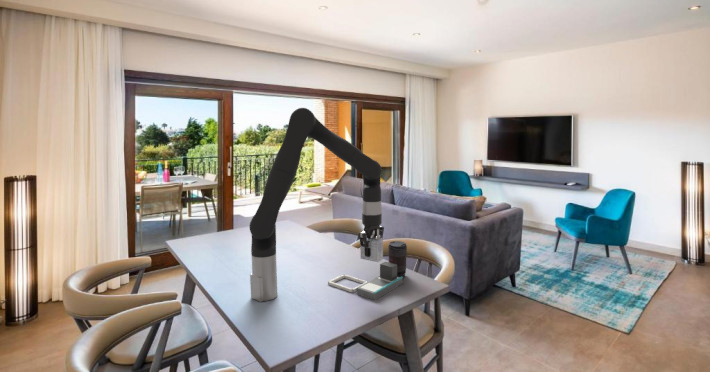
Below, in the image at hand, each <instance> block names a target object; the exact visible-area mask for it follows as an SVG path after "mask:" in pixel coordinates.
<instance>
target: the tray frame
mask: <svg viewBox="0 0 710 372" xmlns="http://www.w3.org/2000/svg"><path fill="white" fill-rule="evenodd" d="M342 279H348V280H350V281H354V282H357V283H360V284H358V286H355V287H353V288H351V287H349V286H345V285H342V284H340V283H337V282H338V281H340V280H342ZM367 282H369V281H367V280H364V279H362V278H361V279H360V278H357V277H355V276H351V275H348V274H342V275H339V276H337V277H334V278H332V279H330V280H328V281H327V285H329V286H332V287H333V288H338V289H339V290H343V291H346V292H349V293H352V294H354V293H355V292H357V287H359V286H361V285H363V284H365V283H367Z"/></svg>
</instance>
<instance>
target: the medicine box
mask: <svg viewBox="0 0 710 372" xmlns="http://www.w3.org/2000/svg"><path fill="white" fill-rule="evenodd" d="M367 239H369V238H367ZM363 243H364V242H363ZM367 244H368V241H367ZM360 259H361V260H365V261H370V262H376V263H379V262H381V261H382V260H384V238H377V237H375V238H373V240H372V242H371V246H370V257H366V256H365V248H364V247H362V246H361V245H360Z"/></svg>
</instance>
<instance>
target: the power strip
mask: <svg viewBox="0 0 710 372" xmlns="http://www.w3.org/2000/svg"><path fill="white" fill-rule="evenodd" d="M403 279H404V277H402V276H401V277H397V264H393V263H389V261H384V262H381V263H380V264H379V275H378V276H377V277H374V278H373V279H371V280H369V281H368V282H367V283H365V284H363V283H362V284H363V285H361V284H360V285H361V286H359V285H358V286H359V287H357V286H356V287H357V291H356V294H357V295H359V296H362V297H365V298H368V299H371V300H374V301H376V300H378V299H379V298H381V297H382V296H385V295H386V294H387V293H389V292H391V291H393V290H395V289H396V288H398V287H399V286H401V285H403V283H404V282H403Z"/></svg>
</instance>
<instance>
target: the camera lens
mask: <svg viewBox="0 0 710 372" xmlns="http://www.w3.org/2000/svg"><path fill="white" fill-rule="evenodd" d="M407 248H408V246H407V242H405V241H401V240H393V241H390V242H389V243H388V249H387V251H388V262H389V263H393V264H397V277H401V276H402V277H403V278H404V277H405V275H406V273H407V272H406V271H407V253H408V252H407V250H408V249H407Z"/></svg>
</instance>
